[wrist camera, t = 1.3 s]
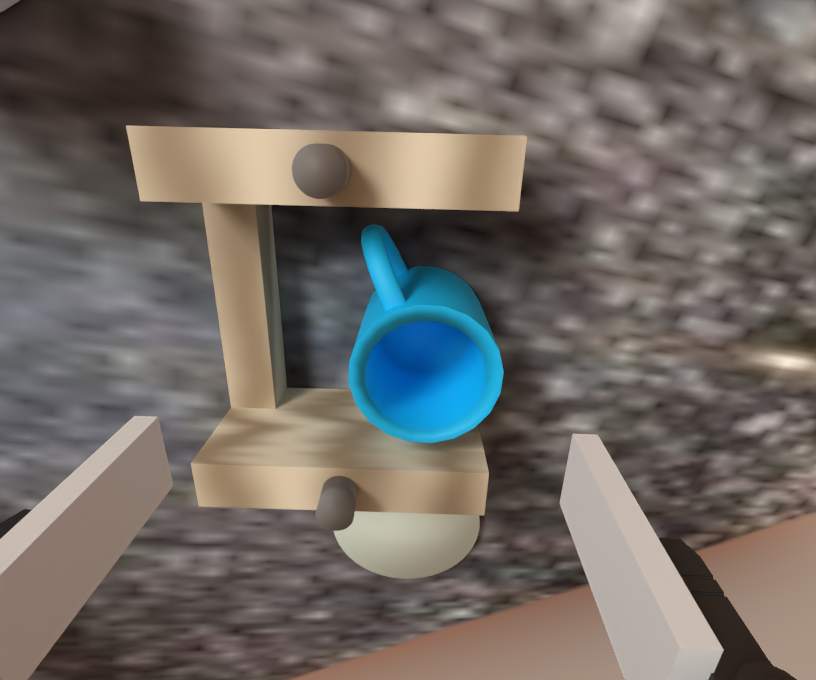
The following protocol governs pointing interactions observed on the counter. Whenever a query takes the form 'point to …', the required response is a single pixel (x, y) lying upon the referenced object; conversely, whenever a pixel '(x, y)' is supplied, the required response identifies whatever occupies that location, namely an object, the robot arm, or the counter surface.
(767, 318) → the counter surface
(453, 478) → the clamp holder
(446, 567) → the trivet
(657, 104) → the counter surface
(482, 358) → the mug
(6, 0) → the soap bottle
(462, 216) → the counter surface
